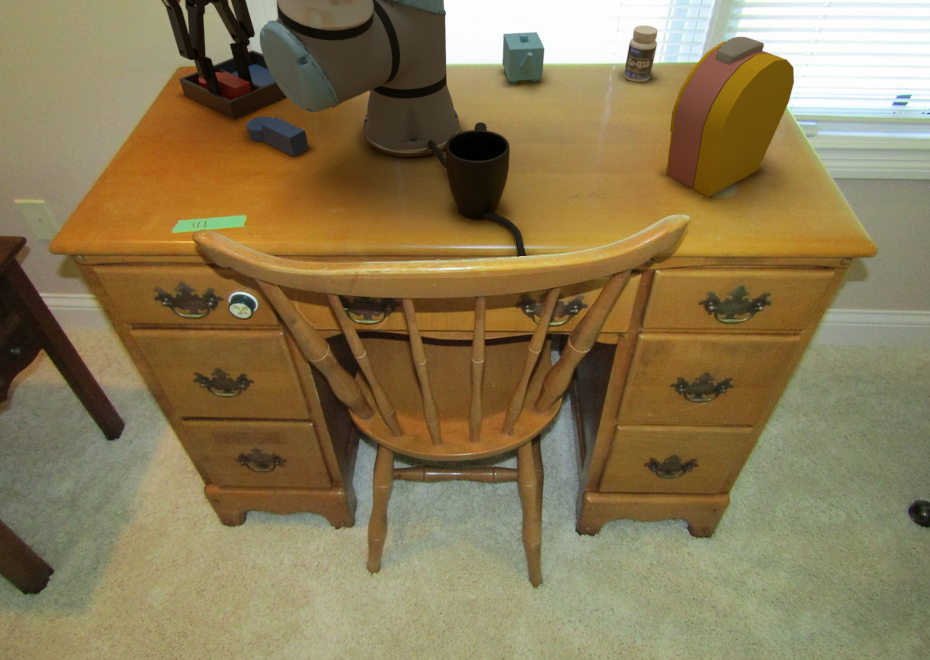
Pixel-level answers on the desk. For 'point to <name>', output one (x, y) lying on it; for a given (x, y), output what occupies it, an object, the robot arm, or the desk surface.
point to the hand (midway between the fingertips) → (231, 89)
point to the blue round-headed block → (278, 134)
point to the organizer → (260, 96)
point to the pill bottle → (641, 54)
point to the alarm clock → (727, 115)
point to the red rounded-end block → (229, 85)
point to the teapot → (523, 56)
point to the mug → (477, 170)
